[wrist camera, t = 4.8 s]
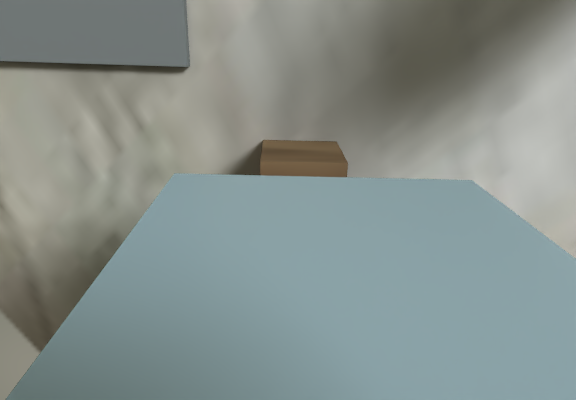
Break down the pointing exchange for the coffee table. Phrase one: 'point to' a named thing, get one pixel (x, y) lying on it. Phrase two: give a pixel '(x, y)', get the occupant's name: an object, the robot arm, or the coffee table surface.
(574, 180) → the coffee table surface
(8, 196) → the coffee table surface
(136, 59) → the gray square plate
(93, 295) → the pale blue cube
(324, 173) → the walnut block
